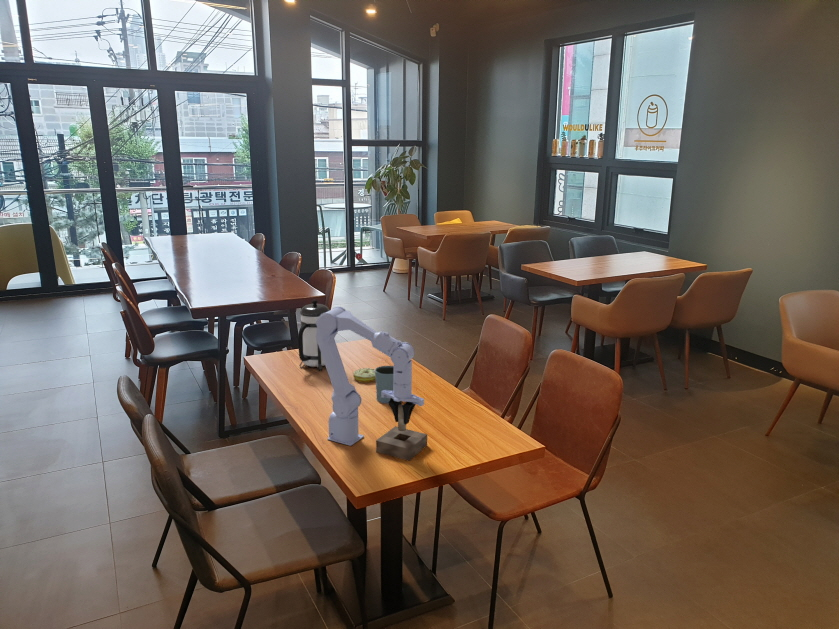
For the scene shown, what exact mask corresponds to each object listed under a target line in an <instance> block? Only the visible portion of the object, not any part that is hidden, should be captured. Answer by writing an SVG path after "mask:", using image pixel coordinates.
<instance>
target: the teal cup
mask: <svg viewBox="0 0 839 629" xmlns="http://www.w3.org/2000/svg"><path fill="white" fill-rule="evenodd" d="M374 370H375V378H376V381H375V390H376V392H375V393H376V400H377V402H378V403H381V404H387V405H389V404H388V402H389V401H390V398H386V397H385V398H382V397H381V392H382V391H383V390H389V391H393V381H394V365H381V366H378V367H376V368H375V369H374Z"/></svg>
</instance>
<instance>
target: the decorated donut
mask: <svg viewBox="0 0 839 629" xmlns="http://www.w3.org/2000/svg"><path fill="white" fill-rule="evenodd" d="M353 378H354V379H355V381H356V382H359V383H366V384H368V383H373V382H376V378H375V369H374V368H371V367H363V368H358V369H357V370H355V371H354V372H353Z"/></svg>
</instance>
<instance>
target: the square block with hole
mask: <svg viewBox="0 0 839 629" xmlns="http://www.w3.org/2000/svg"><path fill="white" fill-rule="evenodd" d="M427 446H428V434H427V433H423V432H421V431H417V430H416V431H415V430H412V429H408V428H406V430H405V431H399V430H398V426H396V425H395V426H394V427H392V428H391V429H390V430H388V431H387V432H385V433H384V434H383V435H381V436H379V438H377V439H376V441H375V452H376V453H379V454H382V455H386V456H389V457H392V458H393V457H394V458H397V459H400V460H405V461H407V460H408V462H411V460H412V459H413V458H415V455H416V456H417V455H418V454H419V453H420V452H422V449H423V448H424V447H425V448H427ZM425 448H424V449H425ZM424 449H423V450H424Z"/></svg>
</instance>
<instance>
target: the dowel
mask: <svg viewBox="0 0 839 629" xmlns="http://www.w3.org/2000/svg"><path fill="white" fill-rule="evenodd" d="M402 405H403V403H402V404H401V405H398V422H397V427H398V430H399V431H405V430H406V429H407V424H404V412H403V408H402Z"/></svg>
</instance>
